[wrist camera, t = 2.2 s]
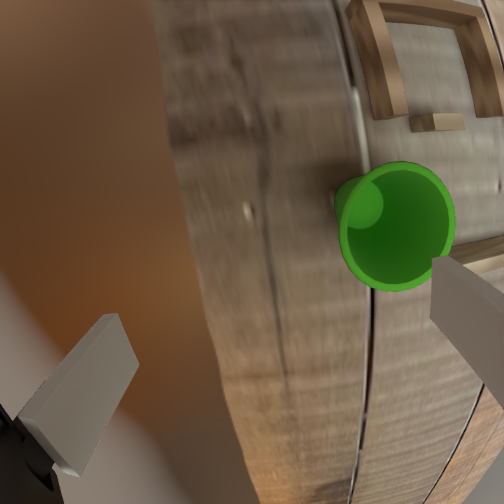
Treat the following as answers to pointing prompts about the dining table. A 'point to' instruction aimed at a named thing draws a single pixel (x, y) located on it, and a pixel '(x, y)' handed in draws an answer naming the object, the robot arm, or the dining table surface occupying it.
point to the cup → (394, 225)
